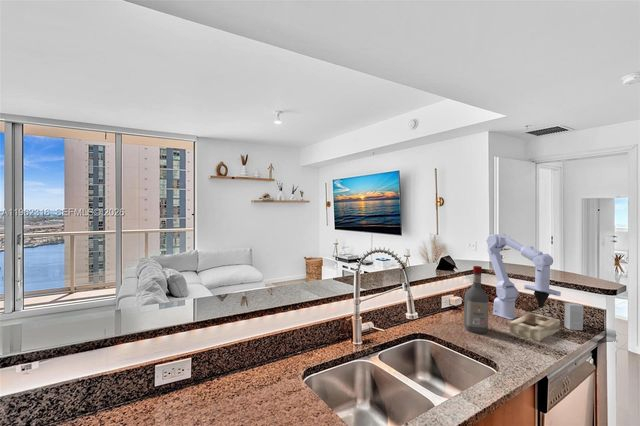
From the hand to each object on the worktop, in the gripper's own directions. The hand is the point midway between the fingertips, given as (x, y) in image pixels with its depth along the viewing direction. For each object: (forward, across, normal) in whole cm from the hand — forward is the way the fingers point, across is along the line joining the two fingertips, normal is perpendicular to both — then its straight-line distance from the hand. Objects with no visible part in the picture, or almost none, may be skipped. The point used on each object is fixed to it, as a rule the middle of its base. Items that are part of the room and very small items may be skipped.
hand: (541, 307), depth 151 cm
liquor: (+11, -17, -28) cm, 34 cm away
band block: (+10, 0, -6) cm, 12 cm away
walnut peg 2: (+10, 0, 0) cm, 10 cm away
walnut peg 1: (+6, 0, -12) cm, 14 cm away
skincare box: (+11, +9, +14) cm, 20 cm away
